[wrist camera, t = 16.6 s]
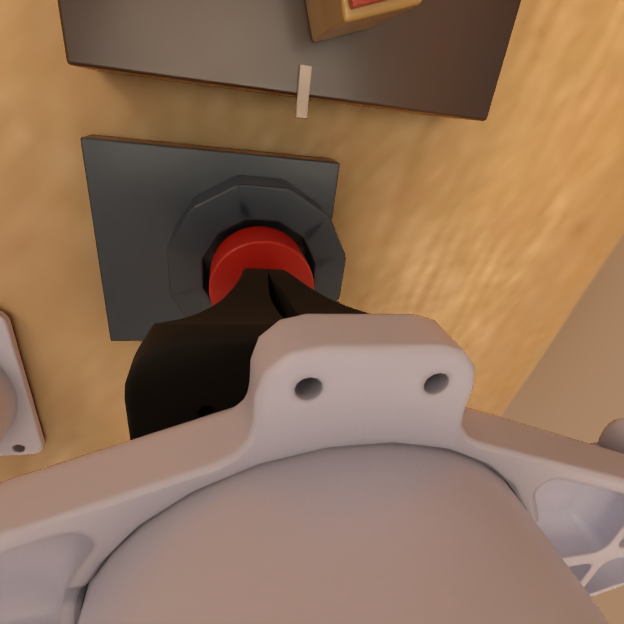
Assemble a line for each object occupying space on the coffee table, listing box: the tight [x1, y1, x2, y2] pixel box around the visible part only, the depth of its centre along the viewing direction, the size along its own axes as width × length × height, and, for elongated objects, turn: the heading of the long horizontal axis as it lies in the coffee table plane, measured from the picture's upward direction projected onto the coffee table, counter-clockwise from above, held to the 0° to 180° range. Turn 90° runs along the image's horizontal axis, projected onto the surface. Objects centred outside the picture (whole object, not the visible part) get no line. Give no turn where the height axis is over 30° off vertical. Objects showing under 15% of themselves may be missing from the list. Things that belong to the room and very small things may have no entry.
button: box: [209, 226, 314, 306], centre depth 14 cm, size 4×4×2 cm
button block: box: [81, 135, 346, 341], centre depth 15 cm, size 9×8×3 cm
